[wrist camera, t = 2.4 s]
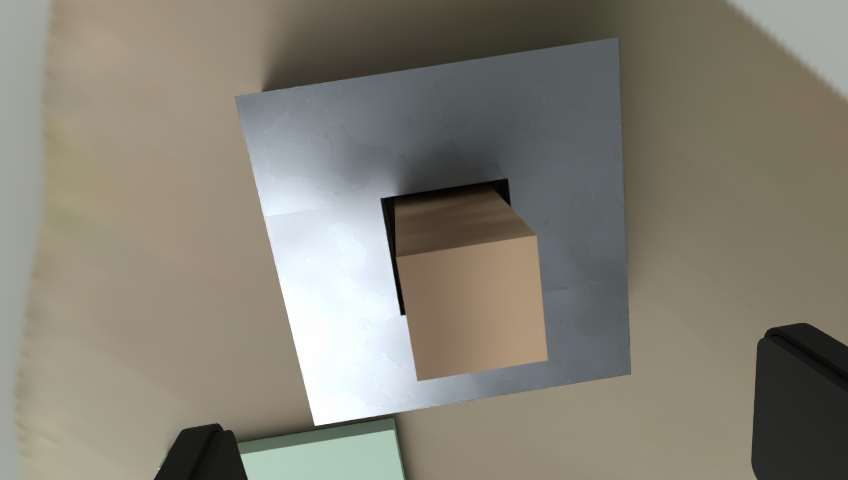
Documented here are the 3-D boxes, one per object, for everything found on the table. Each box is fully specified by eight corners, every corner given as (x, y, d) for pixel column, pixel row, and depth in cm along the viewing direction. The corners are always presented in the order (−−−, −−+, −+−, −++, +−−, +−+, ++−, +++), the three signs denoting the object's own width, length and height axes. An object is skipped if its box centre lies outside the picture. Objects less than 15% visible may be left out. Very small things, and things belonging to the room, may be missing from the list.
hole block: (580, 44, 23) (618, 37, 19) (597, 332, 27) (631, 374, 23) (260, 93, 23) (234, 96, 19) (325, 376, 27) (314, 425, 23)
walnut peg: (480, 175, 25) (536, 235, 15) (489, 256, 26) (547, 360, 16) (394, 188, 25) (395, 257, 15) (408, 269, 26) (417, 381, 16)
